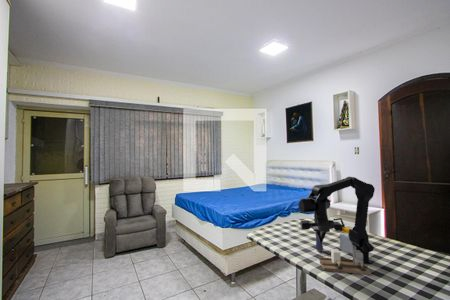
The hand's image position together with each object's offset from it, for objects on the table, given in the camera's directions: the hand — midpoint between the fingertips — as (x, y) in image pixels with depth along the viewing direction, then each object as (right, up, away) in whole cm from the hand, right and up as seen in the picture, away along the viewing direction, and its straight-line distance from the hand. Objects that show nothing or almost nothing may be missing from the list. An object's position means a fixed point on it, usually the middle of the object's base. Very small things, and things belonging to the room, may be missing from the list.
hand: (320, 242), depth 107 cm
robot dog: (+28, -11, +27) cm, 41 cm away
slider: (+7, -9, -3) cm, 12 cm away
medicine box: (+22, -11, +14) cm, 28 cm away
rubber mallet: (+6, -11, +15) cm, 19 cm away
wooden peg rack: (+9, -11, -3) cm, 15 cm away
